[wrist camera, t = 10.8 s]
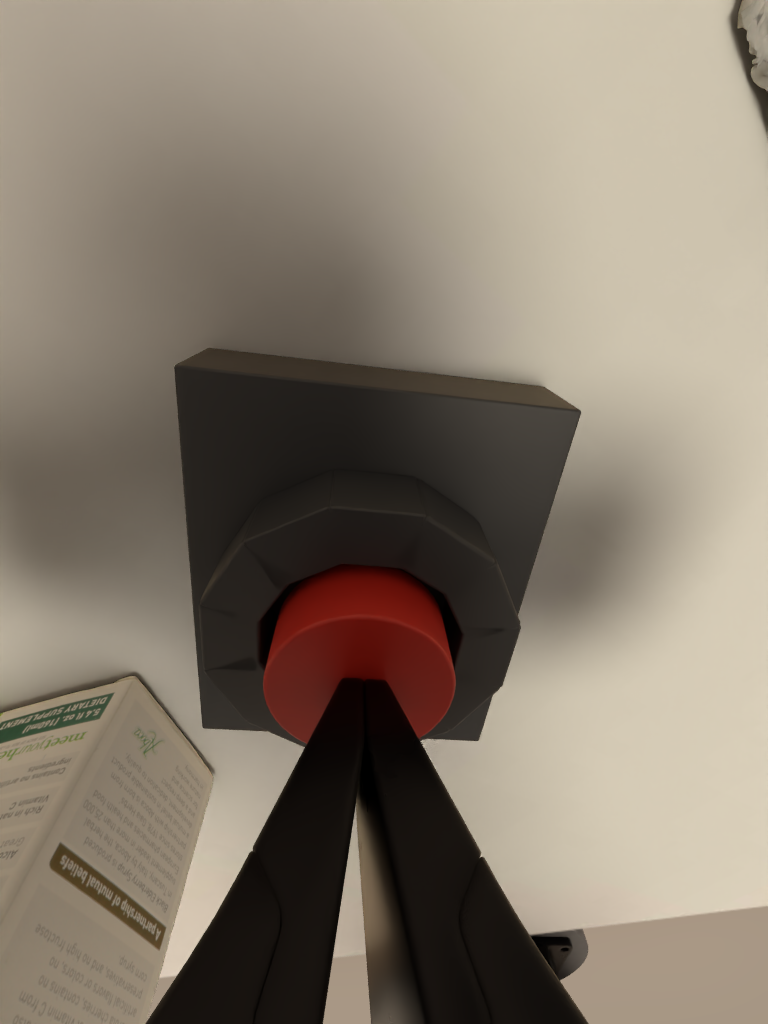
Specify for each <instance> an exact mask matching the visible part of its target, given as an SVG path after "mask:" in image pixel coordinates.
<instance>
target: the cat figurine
mask: <svg viewBox="0 0 768 1024" xmlns="http://www.w3.org/2000/svg"><path fill="white" fill-rule="evenodd" d="M739 28H744V29H746V30H747V41H749V46H750V47H749V53H750V54H755V55H756V57H757V58H756V59H754V60H752V64H753V65H754V64H756V63H758V64H757V65H754V66H753V67H752V69H751V77H752V79H753V81H754V82H755V83H756V84H757V85H758V86H759V87H761V88H764V89H765V90H766V91H768V0H742V3H741V6H740V9H739V12H738V28H737V29H739Z"/></svg>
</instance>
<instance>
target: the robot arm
mask: <svg viewBox="0 0 768 1024" xmlns="http://www.w3.org/2000/svg"><path fill="white" fill-rule="evenodd" d="M355 806H356V816H357V832H358V846H359V860H360V874H361V888H362V902H363V916H364V930H365V944H366V957H367V971H368V985H369V999H370V1013H371V1024H588V1022H587V1021H586V1019H585V1018H584V1016H583V1015H582V1013H581V1012H580V1010H579V1009H578V1007H577V1006H576V1004H575V1003H574V1001H573V1000H572V998H571V997H570V995H569V994H568V992H567V991H566V990H565V988H564V987H563V985H562V984H561V982H560V979H559V975H558V972H559V970H560V969H561V967H562V966H563V964H564V962H565V961H566V959H567V958H568V956H569V955H570V953H571V951H572V950H573V946H572V943H571V939H570V938H568V937H530V935H529V934H528V932H527V930H526V929H525V927H524V926H523V924H522V923H521V921H520V920H519V918H518V916H517V914H516V913H515V911H514V909H513V908H512V906H511V904H510V902H509V901H508V899H507V897H506V896H505V894H504V892H503V890H502V889H501V887H500V885H499V884H498V882H497V880H496V878H495V876H494V875H493V873H492V871H491V869H490V867H489V865H488V864H487V862H486V860H485V858H484V857H480V856H481V851H480V849H479V848H478V846H477V844H476V842H475V840H474V839H473V837H472V835H471V833H470V831H469V829H468V828H467V826H466V824H465V822H464V820H463V819H462V817H461V815H460V813H459V811H458V809H457V808H456V806H455V804H454V802H453V800H452V799H451V797H450V795H449V793H448V791H447V789H446V788H445V786H444V784H443V782H442V780H441V779H440V777H439V775H438V773H437V771H436V769H435V768H434V766H433V764H432V762H431V760H430V758H429V757H428V755H427V753H426V751H425V749H424V748H423V746H422V744H421V742H420V740H419V738H418V737H417V735H416V733H415V731H414V729H413V728H412V726H411V724H410V722H409V720H408V718H407V717H406V715H405V713H404V711H403V709H402V708H401V706H400V704H399V702H398V700H397V698H396V697H395V695H394V693H393V691H392V689H391V688H390V686H389V684H388V683H387V681H385V680H380V679H366V680H365V681H363V680H362V679H360V678H342V679H341V680H340V682H339V684H338V686H337V688H336V690H335V691H334V693H333V695H332V697H331V699H330V701H329V703H328V705H327V707H326V709H325V710H324V712H323V714H322V716H321V718H320V720H319V722H318V724H317V726H316V728H315V730H314V731H313V733H312V735H311V737H310V739H309V741H308V743H307V745H306V747H305V749H304V751H303V752H302V754H301V756H300V758H299V760H298V762H297V764H296V766H295V768H294V770H293V772H292V773H291V775H290V777H289V779H288V781H287V783H286V785H285V787H284V789H283V791H282V793H281V794H280V796H279V798H278V800H277V802H276V804H275V806H274V808H273V810H272V812H271V814H270V815H269V817H268V819H267V821H266V823H265V825H264V827H263V829H262V831H261V833H260V835H259V836H258V838H257V840H256V842H255V844H254V846H253V851H251V852H250V853H249V855H248V857H247V859H246V861H245V863H244V864H243V866H242V868H241V870H240V872H239V874H238V876H237V878H236V880H235V881H234V883H233V885H232V887H231V888H230V890H229V892H228V894H227V896H226V897H225V899H224V901H223V903H222V905H221V906H220V908H219V910H218V912H217V913H216V915H215V917H214V919H213V920H212V922H211V923H210V925H209V927H208V928H207V930H206V931H205V933H204V935H203V936H202V938H201V939H200V941H199V943H198V944H197V946H196V947H195V949H194V951H193V952H192V954H191V955H190V957H189V959H188V960H187V962H186V963H185V965H184V966H183V968H182V969H181V971H180V972H179V974H178V975H177V977H176V978H175V980H174V981H173V983H172V984H171V986H170V988H169V989H168V990H167V992H166V994H165V995H164V996H163V998H162V1000H161V1001H160V1003H159V1004H158V1006H157V1007H156V1009H155V1010H154V1012H153V1013H152V1015H151V1016H150V1018H149V1019H148V1021H147V1022H146V1024H323V1018H324V1011H325V1005H326V998H327V992H328V985H329V978H330V972H331V965H332V959H333V952H334V945H335V939H336V932H337V925H338V919H339V912H340V906H341V899H342V892H343V886H344V879H345V872H346V866H347V859H348V853H349V846H350V839H351V833H352V826H353V819H354V813H355Z"/></svg>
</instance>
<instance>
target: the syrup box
mask: <svg viewBox="0 0 768 1024" xmlns="http://www.w3.org/2000/svg"><path fill="white" fill-rule="evenodd" d="M212 785H213V776H212V774H211V772H210V771H209V769H208V768H207V766H206V765H205V764H204V762H203V760H202V759H201V758H200V756H199V755H198V753H197V752H196V750H195V749H194V748H193V746H192V745H191V744H190V743H189V741H188V740H187V739H186V738H185V736H184V735H183V734H182V732H181V731H180V730H179V728H178V727H177V726H176V725H175V724H174V722H173V721H172V720H171V719H170V717H169V716H168V715H167V714H166V712H165V711H164V710H163V709H162V707H161V706H160V705H159V704H158V703H157V701H156V700H155V699H154V698H153V696H152V695H151V694H150V692H149V691H148V690H147V689H146V688H145V687H144V685H143V684H142V683H141V682H140V681H139V679H138V678H137V677H136V676H129V677H126V678H122V679H120V680H118V681H116V682H115V683H112V684H108V685H104V686H99V687H96V688H93V689H88V690H83V691H79V692H75V693H71V694H67V695H64V696H60V697H57V698H53V699H50V700H46V701H42V702H39V703H35V704H32V705H28V706H24V707H21V708H17V709H14V710H10V711H7V712H4V713H0V1024H146V1022H147V1019H148V1015H149V1012H150V1008H151V1004H152V1001H153V997H154V994H155V990H156V987H157V983H158V980H159V976H160V973H161V969H162V966H163V962H164V958H165V954H166V951H167V947H168V944H169V939H170V935H171V932H172V929H173V926H174V923H175V918H176V915H177V911H178V908H179V905H180V901H181V898H182V894H183V891H184V887H185V883H186V878H187V874H188V871H189V867H190V864H191V861H192V857H193V854H194V850H195V846H196V843H197V840H198V836H199V832H200V829H201V825H202V822H203V818H204V815H205V811H206V807H207V804H208V800H209V797H210V793H211V789H212Z"/></svg>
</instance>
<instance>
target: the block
mask: <svg viewBox="0 0 768 1024" xmlns="http://www.w3.org/2000/svg"><path fill="white" fill-rule="evenodd" d="M174 369H175V382H176V395H177V407H178V420H179V433H180V446H181V458H182V471H183V484H184V497H185V509H186V522H187V535H188V548H189V561H190V573H191V586H192V599H193V612H194V624H195V637H196V650H197V663H198V675H199V688H200V701H201V714H202V726H203V728H207V729H229V730H250V731H269V732H271V733H273V734H275V735H278V736H280V737H282V738H285V739H287V740H289V741H292V742H294V743H296V744H298V745H301V746H303V747H306V745H307V744H306V743H304V742H302V741H300V740H298V739H297V738H295V737H294V736H292V735H291V734H289V733H288V732H287V731H286V730H285V729H283V728H282V727H281V726H280V725H279V723H278V722H277V721H276V720H275V719H274V717H273V716H272V714H271V712H270V710H269V708H268V706H267V704H266V700H265V696H264V691H263V678H264V672H265V668H266V664H267V660H268V656H269V652H270V648H271V644H272V640H273V636H274V631H275V627H276V623H277V619H278V615H279V612H280V609H281V607H282V605H283V603H284V601H285V599H286V598H287V596H288V595H289V593H290V592H291V591H292V590H293V589H294V588H295V587H296V586H297V585H298V584H299V583H301V582H302V581H303V580H304V579H306V578H307V577H309V576H312V575H314V574H317V573H320V572H322V571H325V570H327V569H330V568H333V567H335V566H338V565H340V564H350V565H363V566H376V567H389V568H397V569H399V570H402V571H404V572H406V573H408V574H409V575H411V576H413V577H414V578H415V579H417V580H418V581H420V582H421V583H422V584H423V585H424V586H425V587H426V588H427V589H428V590H429V591H430V592H431V594H432V595H433V596H434V598H435V600H436V601H437V603H438V605H439V608H440V611H441V614H442V618H443V623H444V627H445V632H446V636H447V640H448V645H449V649H450V654H451V658H452V662H453V667H454V672H455V679H456V686H455V692H454V697H453V700H452V702H451V705H450V707H449V709H448V711H447V713H446V714H445V716H444V717H443V718H442V720H441V721H440V722H439V723H438V724H437V725H436V726H435V727H434V728H433V729H432V730H431V731H429V732H428V733H427V734H425V735H424V736H422V737H421V738H419V740H420V741H421V740H424V739H445V740H466V741H478V740H479V738H480V735H481V731H482V728H483V725H484V722H485V719H486V715H487V712H488V709H489V706H490V703H491V699H492V696H493V694H494V693H495V692H497V691H498V690H499V688H500V687H502V685H503V682H504V679H505V676H506V673H507V670H508V667H509V663H510V660H511V657H512V654H513V651H514V648H515V645H516V642H517V639H518V635H519V632H520V629H521V627H520V620H519V618H518V613H519V610H520V606H521V603H522V600H523V597H524V594H525V590H526V587H527V584H528V581H529V578H530V574H531V571H532V568H533V565H534V562H535V558H536V555H537V552H538V549H539V546H540V542H541V539H542V536H543V533H544V530H545V526H546V523H547V520H548V517H549V514H550V510H551V507H552V504H553V501H554V498H555V494H556V491H557V488H558V485H559V482H560V478H561V475H562V472H563V469H564V466H565V462H566V459H567V456H568V453H569V450H570V446H571V443H572V440H573V437H574V434H575V430H576V427H577V424H578V421H579V418H580V414H581V411H580V410H579V409H577V408H576V407H574V406H573V405H571V404H570V403H568V402H567V401H565V400H563V399H562V398H560V397H559V396H557V395H556V394H554V393H553V392H551V391H550V390H548V389H547V388H545V387H541V386H532V385H524V384H515V383H506V382H498V381H489V380H480V379H472V378H463V377H455V376H446V375H437V374H429V373H420V372H412V371H403V370H394V369H386V368H377V367H368V366H360V365H351V364H343V363H334V362H325V361H317V360H308V359H300V358H291V357H282V356H274V355H265V354H257V353H248V352H239V351H231V350H222V349H213V348H208V349H206V350H204V351H202V352H200V353H198V354H196V355H194V356H192V357H190V358H188V359H186V360H184V361H182V362H180V363H178V364H176V365H175V367H174Z"/></svg>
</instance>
